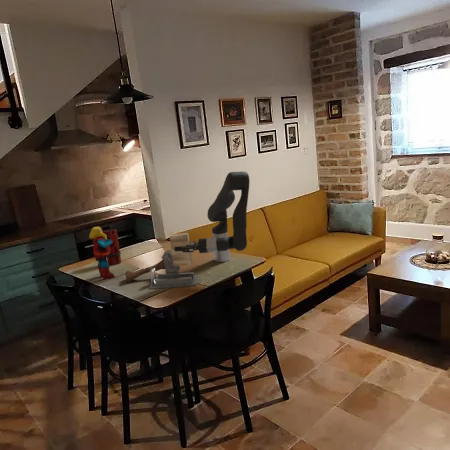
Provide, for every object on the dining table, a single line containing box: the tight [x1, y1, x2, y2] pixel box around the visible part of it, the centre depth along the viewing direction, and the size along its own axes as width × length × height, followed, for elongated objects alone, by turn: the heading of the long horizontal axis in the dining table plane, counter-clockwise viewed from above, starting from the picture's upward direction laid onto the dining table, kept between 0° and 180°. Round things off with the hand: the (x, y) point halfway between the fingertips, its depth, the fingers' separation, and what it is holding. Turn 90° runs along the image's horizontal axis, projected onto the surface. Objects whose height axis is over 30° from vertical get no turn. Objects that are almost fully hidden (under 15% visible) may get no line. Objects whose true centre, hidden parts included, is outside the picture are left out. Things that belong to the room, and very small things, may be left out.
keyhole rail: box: [149, 268, 200, 290], centre depth 213 cm, size 14×24×8 cm, turn 87°
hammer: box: [124, 249, 181, 284], centre depth 224 cm, size 15×10×30 cm
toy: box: [88, 226, 117, 281], centre depth 230 cm, size 15×15×30 cm
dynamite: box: [102, 218, 122, 266], centre depth 257 cm, size 10×9×30 cm
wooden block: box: [169, 232, 193, 267], centre depth 210 cm, size 4×9×16 cm, turn 87°
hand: (175, 248), depth 210 cm, fingers closed on wooden block, 4 cm apart
